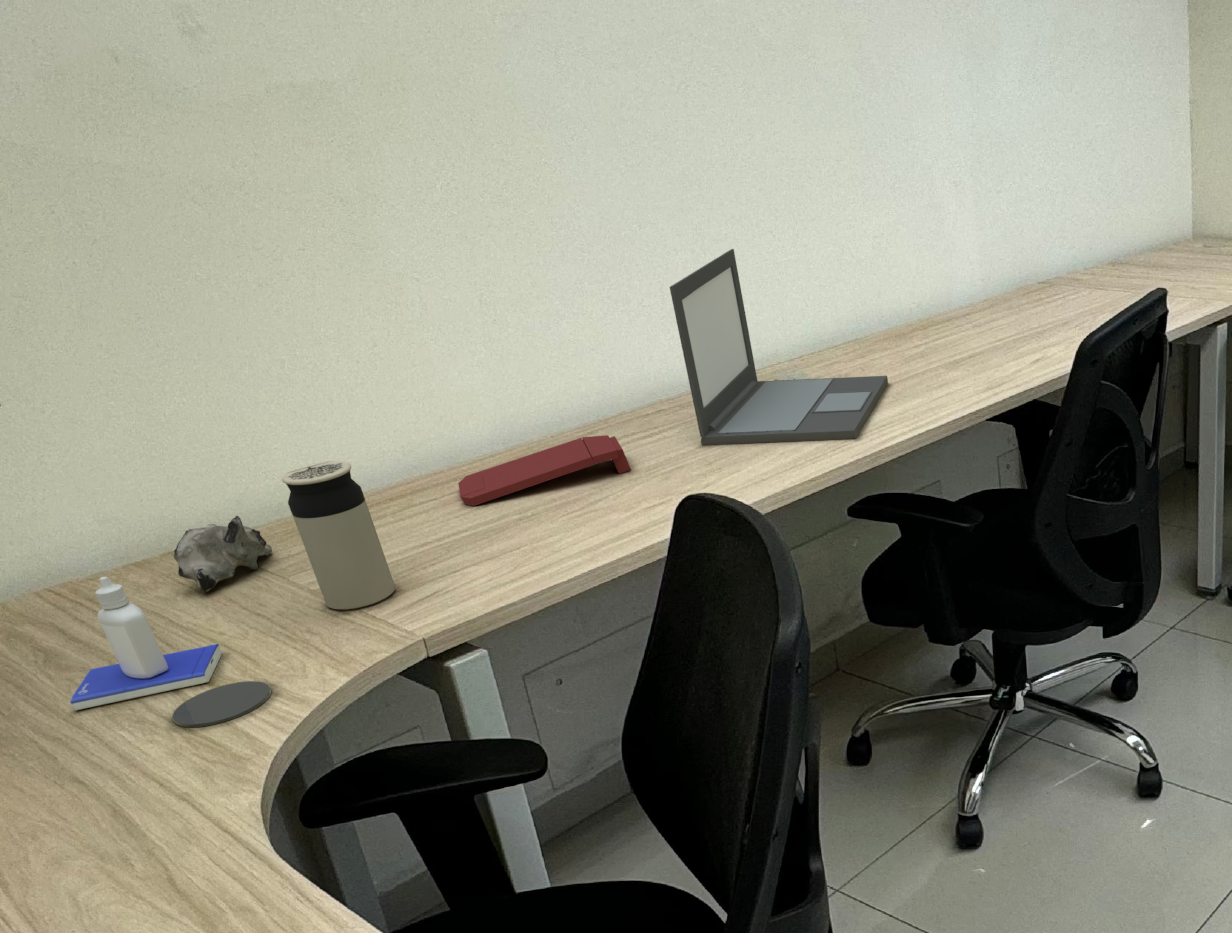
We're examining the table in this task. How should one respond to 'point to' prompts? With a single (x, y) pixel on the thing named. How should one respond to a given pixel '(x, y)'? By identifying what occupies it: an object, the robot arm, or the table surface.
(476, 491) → the red hooked bar
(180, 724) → the slate coaster
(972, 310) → the table surface
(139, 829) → the table surface
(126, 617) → the eye dropper bottle
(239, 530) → the decorative stone
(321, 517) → the travel mug
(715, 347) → the laptop
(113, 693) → the hard drive
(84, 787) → the table surface
